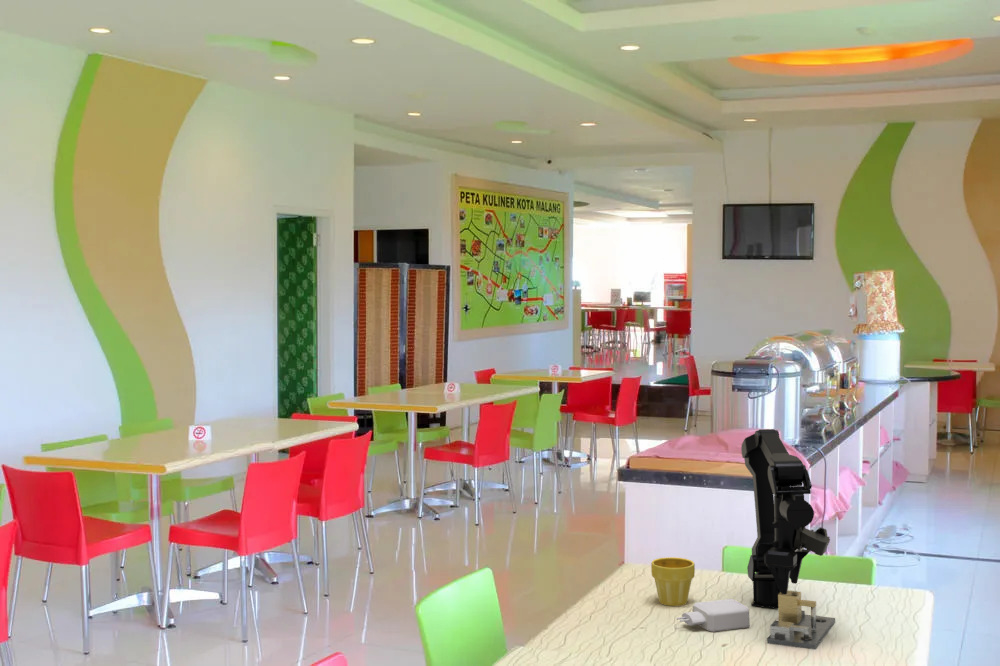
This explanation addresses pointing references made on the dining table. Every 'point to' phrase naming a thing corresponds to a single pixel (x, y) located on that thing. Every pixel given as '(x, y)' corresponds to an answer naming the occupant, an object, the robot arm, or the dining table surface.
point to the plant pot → (673, 579)
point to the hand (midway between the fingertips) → (789, 588)
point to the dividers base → (800, 632)
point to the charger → (718, 615)
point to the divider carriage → (794, 608)
